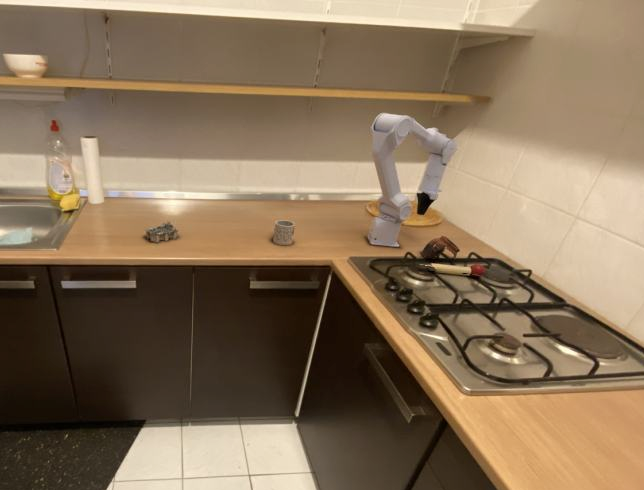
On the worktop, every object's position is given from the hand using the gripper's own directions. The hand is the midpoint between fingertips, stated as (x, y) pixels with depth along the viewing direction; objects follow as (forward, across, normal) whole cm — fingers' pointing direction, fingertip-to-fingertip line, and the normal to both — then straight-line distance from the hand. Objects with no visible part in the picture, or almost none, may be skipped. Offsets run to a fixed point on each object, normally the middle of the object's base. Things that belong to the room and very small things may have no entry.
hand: (420, 214), depth 138 cm
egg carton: (+10, -26, +89) cm, 93 cm away
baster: (+9, -28, -3) cm, 30 cm away
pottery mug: (+10, -17, -3) cm, 20 cm away
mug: (+10, -16, +48) cm, 51 cm away
